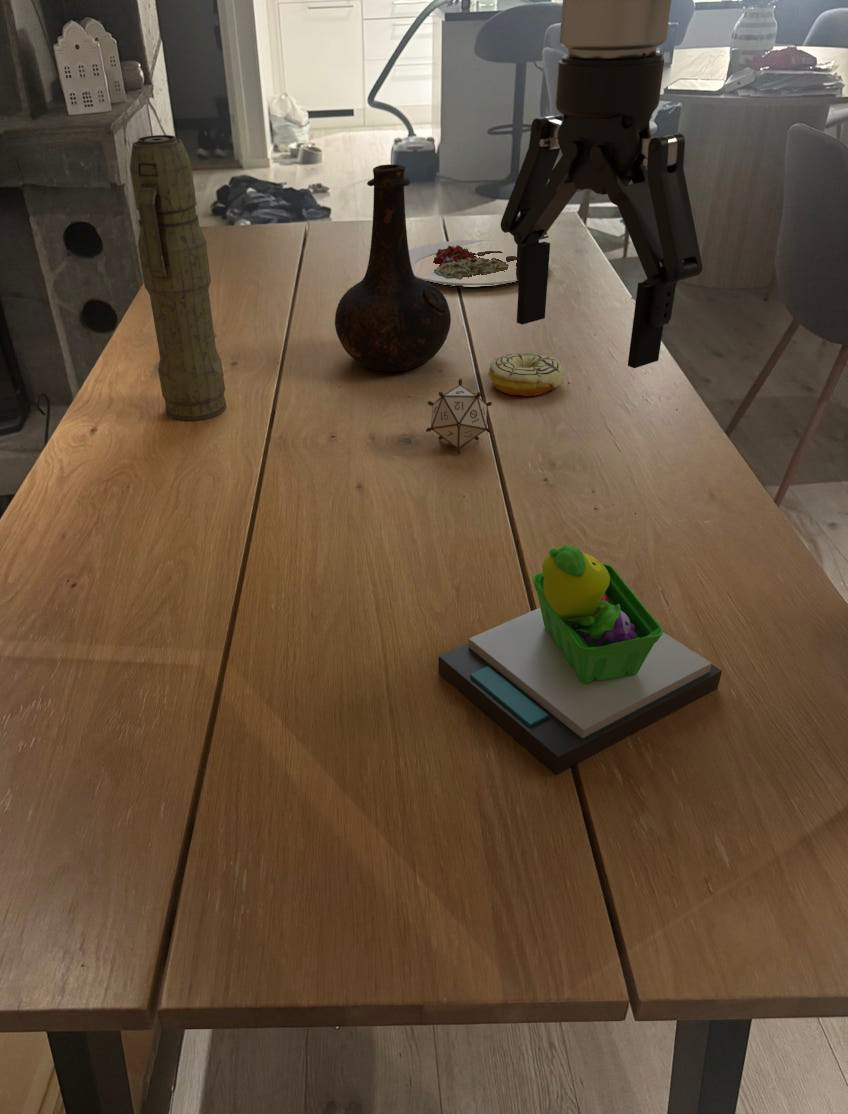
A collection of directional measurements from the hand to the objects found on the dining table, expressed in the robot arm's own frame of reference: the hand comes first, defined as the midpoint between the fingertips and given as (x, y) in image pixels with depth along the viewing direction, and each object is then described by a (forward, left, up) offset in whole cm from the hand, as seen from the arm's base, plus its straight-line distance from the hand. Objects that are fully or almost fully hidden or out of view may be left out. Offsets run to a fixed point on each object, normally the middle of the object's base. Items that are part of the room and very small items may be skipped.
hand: (583, 341), depth 82 cm
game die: (+34, -13, -26) cm, 45 cm away
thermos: (+66, +10, -26) cm, 71 cm away
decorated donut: (+44, -33, -26) cm, 61 cm away
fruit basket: (-11, +7, -23) cm, 27 cm away
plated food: (+95, -63, -26) cm, 117 cm away
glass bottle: (+64, -23, -26) cm, 73 cm away
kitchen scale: (-11, +8, -26) cm, 30 cm away
